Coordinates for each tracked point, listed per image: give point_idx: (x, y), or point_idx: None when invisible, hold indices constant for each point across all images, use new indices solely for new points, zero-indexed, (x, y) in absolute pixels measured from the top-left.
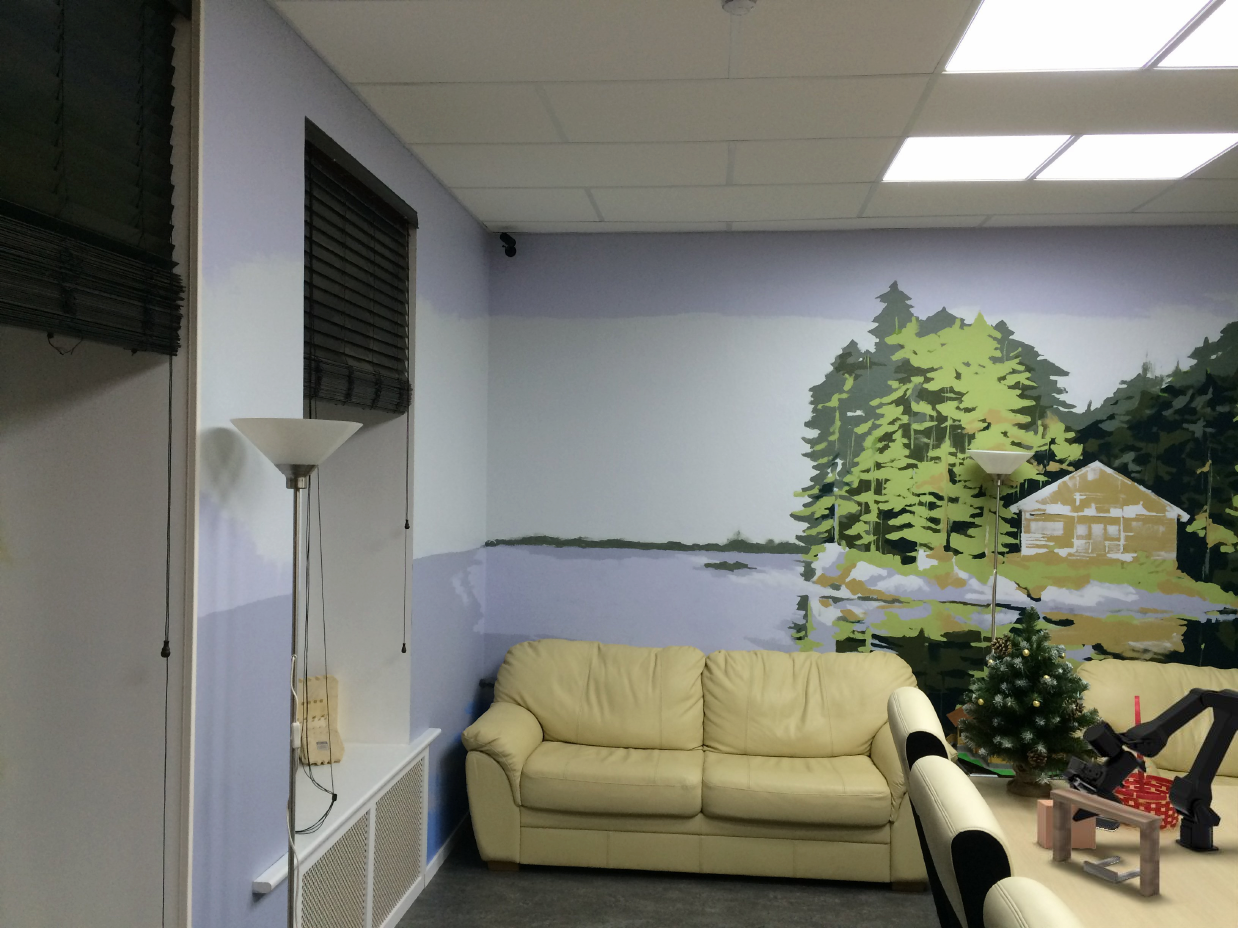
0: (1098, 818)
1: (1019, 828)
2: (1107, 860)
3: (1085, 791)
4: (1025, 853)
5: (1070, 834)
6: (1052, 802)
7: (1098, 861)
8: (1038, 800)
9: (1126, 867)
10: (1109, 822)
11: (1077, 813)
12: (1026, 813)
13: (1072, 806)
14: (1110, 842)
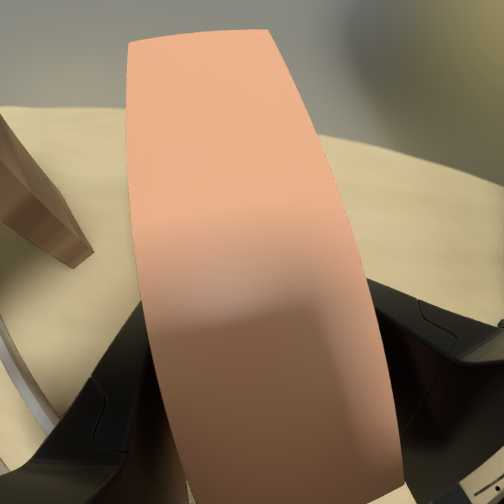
0: None
1: (364, 167)
2: (23, 395)
3: (487, 496)
4: (107, 118)
5: (21, 231)
6: (220, 93)
7: (6, 349)
8: (253, 31)
9: (33, 453)
10: None
11: (130, 326)
12: (494, 244)
13: (141, 270)
14: None
